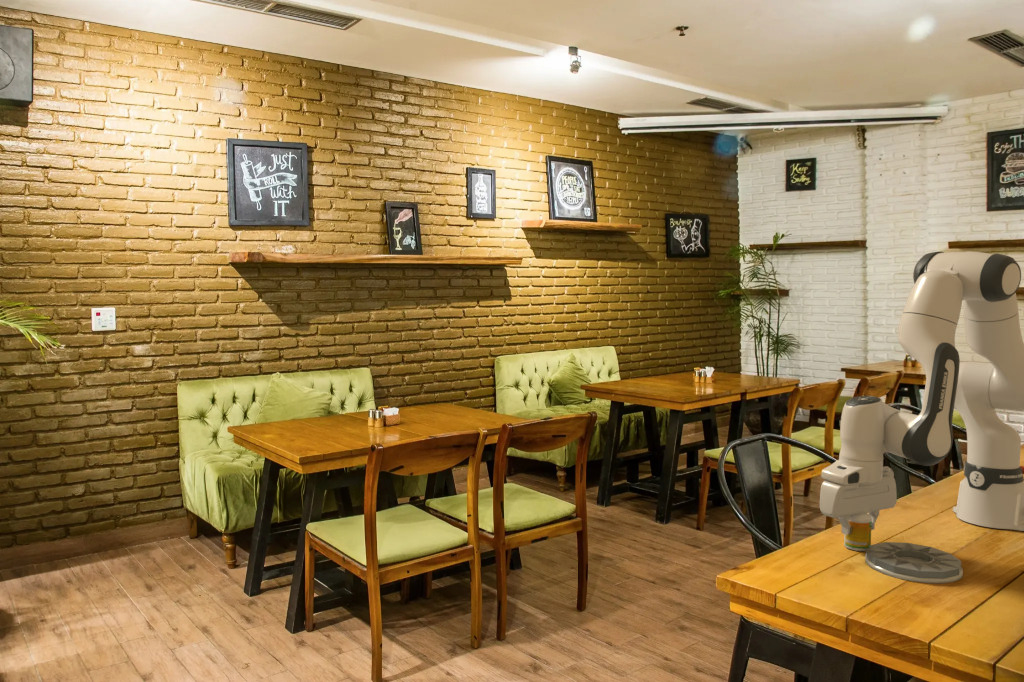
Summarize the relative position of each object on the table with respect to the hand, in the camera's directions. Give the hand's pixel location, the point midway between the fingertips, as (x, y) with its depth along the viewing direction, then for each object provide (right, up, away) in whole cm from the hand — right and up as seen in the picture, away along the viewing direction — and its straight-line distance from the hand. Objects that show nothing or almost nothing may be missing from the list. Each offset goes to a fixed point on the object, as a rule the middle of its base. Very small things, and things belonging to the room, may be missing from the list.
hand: (858, 531), depth 172 cm
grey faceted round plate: (+7, -5, -11) cm, 14 cm away
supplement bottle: (0, -4, 0) cm, 4 cm away
